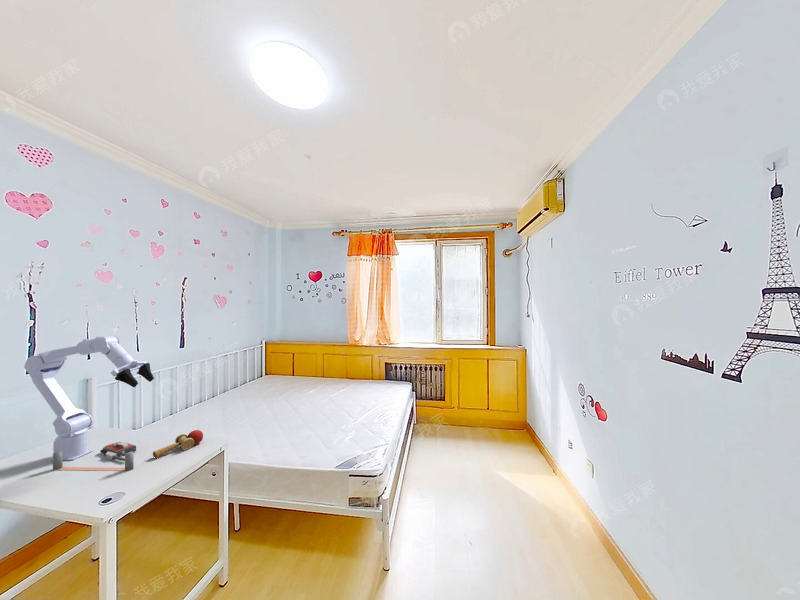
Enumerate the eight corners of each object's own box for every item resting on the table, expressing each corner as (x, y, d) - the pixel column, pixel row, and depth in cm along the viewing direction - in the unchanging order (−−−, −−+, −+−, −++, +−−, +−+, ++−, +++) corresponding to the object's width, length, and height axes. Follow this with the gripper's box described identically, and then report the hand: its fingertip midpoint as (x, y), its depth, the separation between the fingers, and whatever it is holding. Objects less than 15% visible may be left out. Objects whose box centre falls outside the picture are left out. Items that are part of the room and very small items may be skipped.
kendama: (160, 464, 120) (208, 440, 136) (156, 449, 120) (204, 426, 136) (152, 463, 124) (199, 440, 140) (148, 448, 124) (196, 426, 140)
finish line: (50, 470, 114) (51, 454, 115) (58, 466, 117) (58, 451, 117) (129, 471, 113) (129, 454, 113) (135, 467, 115) (135, 451, 116)
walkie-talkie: (93, 456, 126) (122, 465, 118) (93, 445, 126) (122, 453, 118) (119, 447, 134) (148, 454, 126) (119, 437, 134) (148, 444, 126)
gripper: (110, 356, 119) (135, 381, 119) (143, 349, 134) (164, 371, 134) (98, 368, 120) (122, 393, 120) (132, 360, 134) (153, 382, 134)
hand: (144, 382), depth 127 cm, fingers open, 7 cm apart
